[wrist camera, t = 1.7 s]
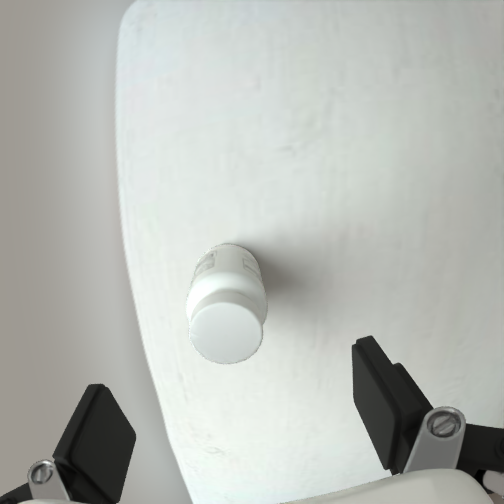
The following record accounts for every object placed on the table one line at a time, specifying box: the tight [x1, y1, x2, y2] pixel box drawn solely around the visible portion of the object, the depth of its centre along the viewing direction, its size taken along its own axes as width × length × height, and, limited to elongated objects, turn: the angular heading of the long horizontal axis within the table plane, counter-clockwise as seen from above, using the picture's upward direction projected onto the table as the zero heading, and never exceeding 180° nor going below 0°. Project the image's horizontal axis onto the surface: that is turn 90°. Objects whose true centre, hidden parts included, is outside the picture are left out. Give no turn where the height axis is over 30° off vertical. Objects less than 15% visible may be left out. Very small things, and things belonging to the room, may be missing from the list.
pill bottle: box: [186, 244, 268, 364], centre depth 18 cm, size 4×4×8 cm
